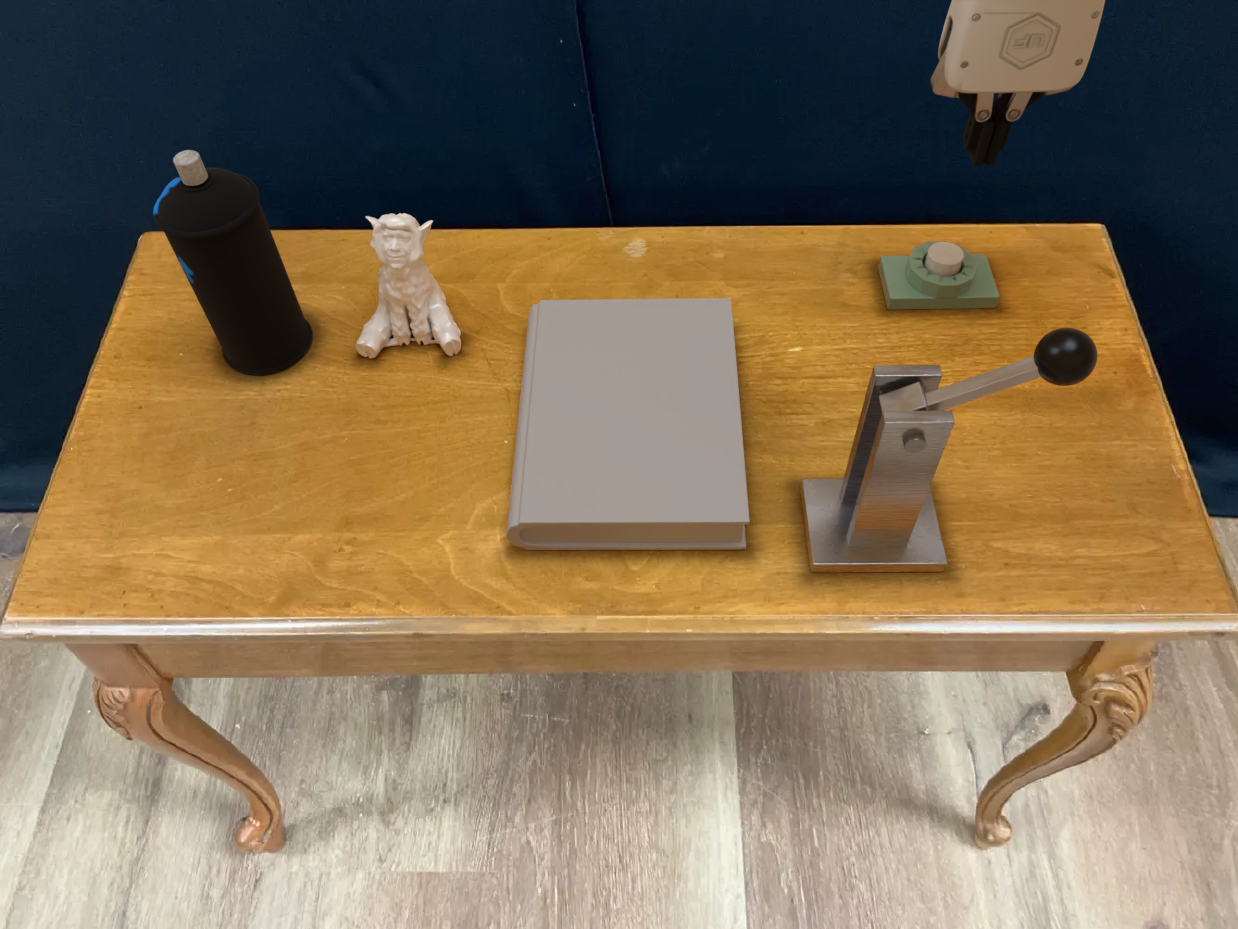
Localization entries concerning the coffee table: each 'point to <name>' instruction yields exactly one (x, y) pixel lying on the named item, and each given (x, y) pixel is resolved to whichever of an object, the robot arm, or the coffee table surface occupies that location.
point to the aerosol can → (233, 266)
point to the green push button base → (936, 282)
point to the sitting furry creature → (406, 291)
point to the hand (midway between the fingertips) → (979, 155)
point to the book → (629, 428)
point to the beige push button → (944, 259)
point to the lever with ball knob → (1007, 374)
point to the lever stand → (882, 487)
